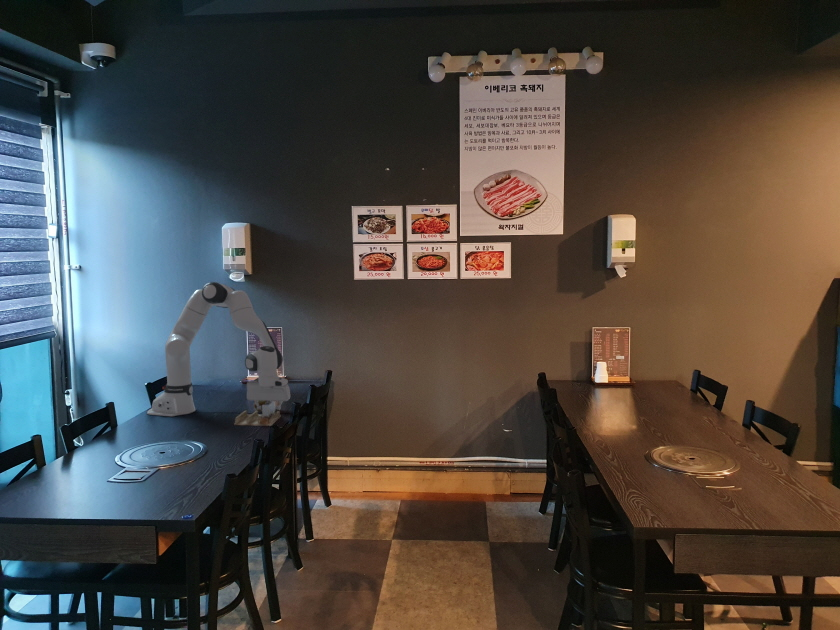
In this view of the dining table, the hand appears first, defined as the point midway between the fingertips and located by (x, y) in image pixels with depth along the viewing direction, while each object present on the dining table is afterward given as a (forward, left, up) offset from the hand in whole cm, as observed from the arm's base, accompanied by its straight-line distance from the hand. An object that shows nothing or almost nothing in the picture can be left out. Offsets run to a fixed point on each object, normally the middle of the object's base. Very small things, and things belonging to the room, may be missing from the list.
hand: (268, 409), depth 282 cm
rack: (-5, 0, -6) cm, 8 cm away
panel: (0, 0, -5) cm, 5 cm away
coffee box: (-8, +18, -6) cm, 21 cm away
